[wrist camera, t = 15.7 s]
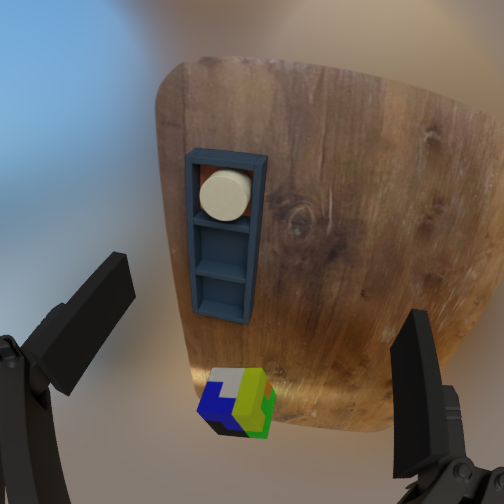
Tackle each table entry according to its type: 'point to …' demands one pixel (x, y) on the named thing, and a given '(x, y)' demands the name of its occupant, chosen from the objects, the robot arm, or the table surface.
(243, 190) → the cylinder
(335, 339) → the table surface
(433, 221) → the table surface
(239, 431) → the puzzle toy
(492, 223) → the table surface
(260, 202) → the grid
